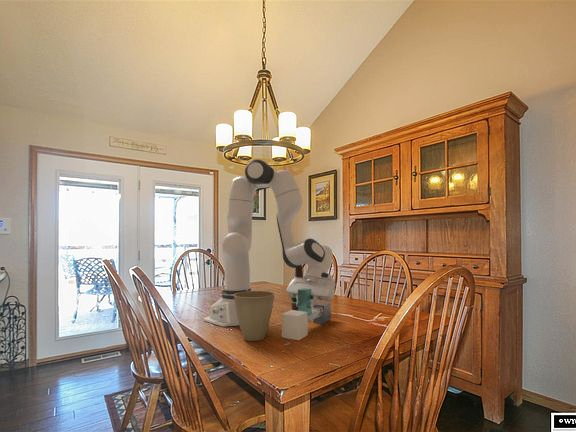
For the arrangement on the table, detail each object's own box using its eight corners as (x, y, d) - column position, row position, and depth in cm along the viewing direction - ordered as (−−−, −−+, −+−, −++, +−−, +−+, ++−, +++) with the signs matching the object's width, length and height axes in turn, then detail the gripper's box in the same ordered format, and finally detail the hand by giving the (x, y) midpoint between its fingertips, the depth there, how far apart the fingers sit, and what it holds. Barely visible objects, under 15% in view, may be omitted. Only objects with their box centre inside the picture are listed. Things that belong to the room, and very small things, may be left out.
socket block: (281, 337, 117) (281, 313, 117) (291, 332, 123) (291, 309, 123) (298, 340, 113) (298, 316, 114) (307, 335, 119) (307, 312, 120)
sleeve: (313, 322, 136) (313, 304, 137) (320, 318, 142) (320, 301, 143) (324, 324, 134) (323, 305, 134) (330, 320, 140) (330, 302, 140)
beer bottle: (307, 309, 161) (306, 261, 162) (306, 313, 153) (306, 262, 154) (292, 309, 161) (291, 261, 163) (290, 312, 154) (290, 262, 155)
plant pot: (281, 340, 113) (280, 295, 114) (241, 347, 107) (241, 299, 108) (265, 329, 127) (265, 289, 128) (228, 335, 120) (228, 292, 121)
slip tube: (287, 327, 118) (287, 292, 118) (314, 314, 136) (313, 284, 137) (296, 328, 115) (296, 293, 116) (322, 315, 134) (322, 285, 135)
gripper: (290, 272, 137) (278, 299, 128) (334, 275, 127) (324, 304, 118) (296, 281, 141) (284, 308, 132) (339, 284, 130) (330, 314, 121)
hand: (304, 306), depth 125 cm, fingers closed on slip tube, 4 cm apart
